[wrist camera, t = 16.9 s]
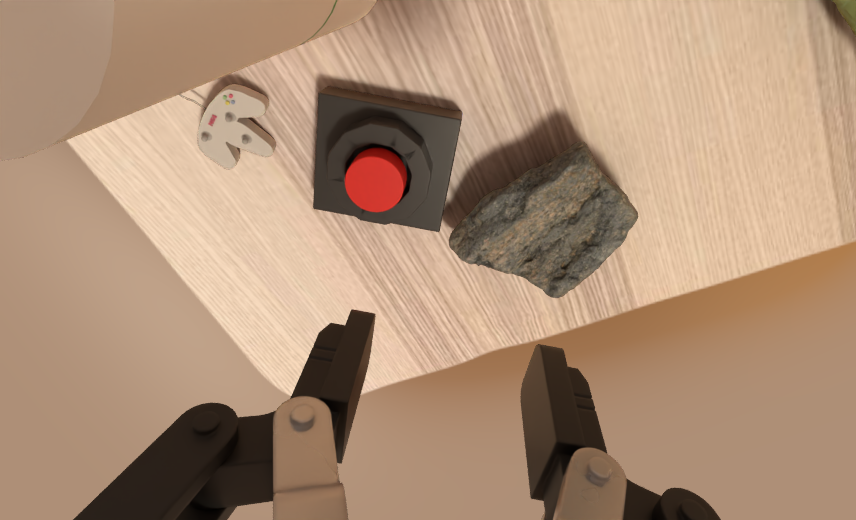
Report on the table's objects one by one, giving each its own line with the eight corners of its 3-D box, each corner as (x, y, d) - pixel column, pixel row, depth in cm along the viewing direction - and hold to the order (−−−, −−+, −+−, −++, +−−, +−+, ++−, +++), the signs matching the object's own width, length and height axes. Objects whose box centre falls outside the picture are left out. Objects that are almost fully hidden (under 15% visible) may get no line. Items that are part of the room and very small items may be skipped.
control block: (321, 196, 36) (304, 220, 33) (327, 85, 32) (309, 99, 29) (440, 219, 36) (437, 244, 33) (462, 111, 32) (460, 127, 29)
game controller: (273, 174, 36) (259, 187, 33) (115, 120, 35) (90, 131, 32) (286, 98, 33) (271, 107, 30) (114, 37, 32) (86, 43, 29)
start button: (348, 195, 32) (342, 206, 30) (353, 142, 30) (346, 151, 29) (402, 205, 32) (399, 217, 30) (410, 153, 30) (407, 162, 29)
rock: (614, 115, 31) (635, 137, 27) (633, 246, 36) (654, 283, 32) (430, 168, 34) (424, 196, 30) (470, 283, 39) (469, 322, 35)
